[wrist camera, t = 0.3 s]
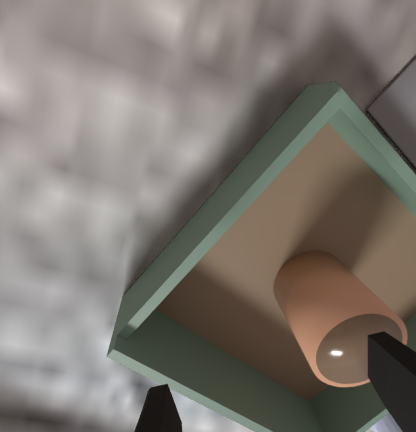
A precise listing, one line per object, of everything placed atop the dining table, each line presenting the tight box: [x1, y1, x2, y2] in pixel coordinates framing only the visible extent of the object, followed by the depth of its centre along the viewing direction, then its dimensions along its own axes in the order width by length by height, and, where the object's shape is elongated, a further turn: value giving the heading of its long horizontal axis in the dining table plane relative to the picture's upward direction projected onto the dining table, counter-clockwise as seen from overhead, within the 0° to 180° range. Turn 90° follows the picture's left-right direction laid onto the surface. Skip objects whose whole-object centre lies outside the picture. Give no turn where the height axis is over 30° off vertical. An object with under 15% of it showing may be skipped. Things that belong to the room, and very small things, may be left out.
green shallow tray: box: [107, 81, 416, 432], centre depth 19 cm, size 19×17×5 cm
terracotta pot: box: [273, 251, 407, 387], centre depth 18 cm, size 5×5×6 cm
